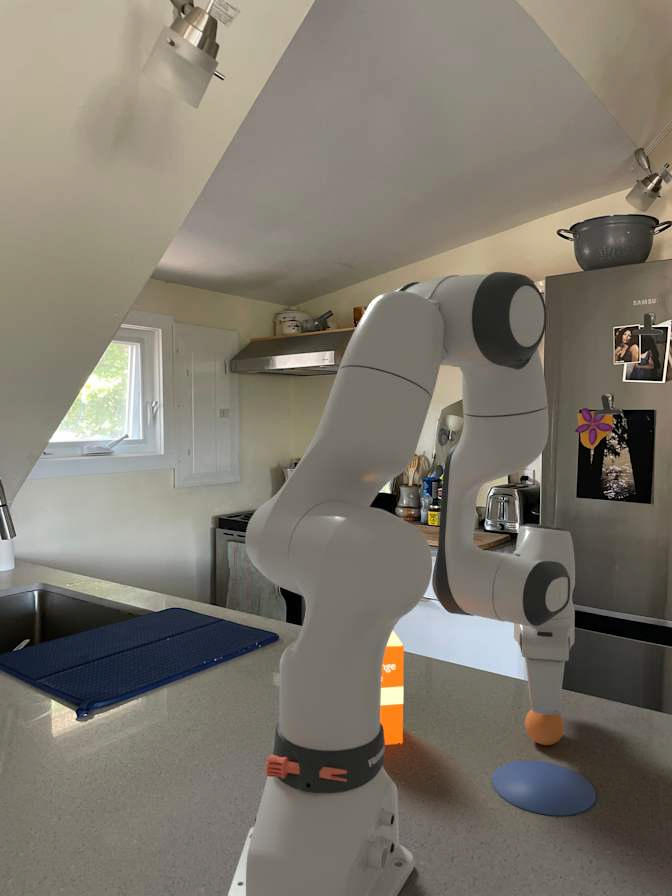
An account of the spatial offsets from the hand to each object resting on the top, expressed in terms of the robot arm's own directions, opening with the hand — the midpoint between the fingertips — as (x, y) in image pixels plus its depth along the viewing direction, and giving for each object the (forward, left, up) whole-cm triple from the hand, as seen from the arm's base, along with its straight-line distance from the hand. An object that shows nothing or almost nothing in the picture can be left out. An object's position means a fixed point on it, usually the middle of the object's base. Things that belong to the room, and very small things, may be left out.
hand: (542, 717), depth 107 cm
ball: (-4, 0, +1) cm, 4 cm away
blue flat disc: (-17, 0, -2) cm, 17 cm away
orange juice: (-8, +25, -2) cm, 27 cm away
